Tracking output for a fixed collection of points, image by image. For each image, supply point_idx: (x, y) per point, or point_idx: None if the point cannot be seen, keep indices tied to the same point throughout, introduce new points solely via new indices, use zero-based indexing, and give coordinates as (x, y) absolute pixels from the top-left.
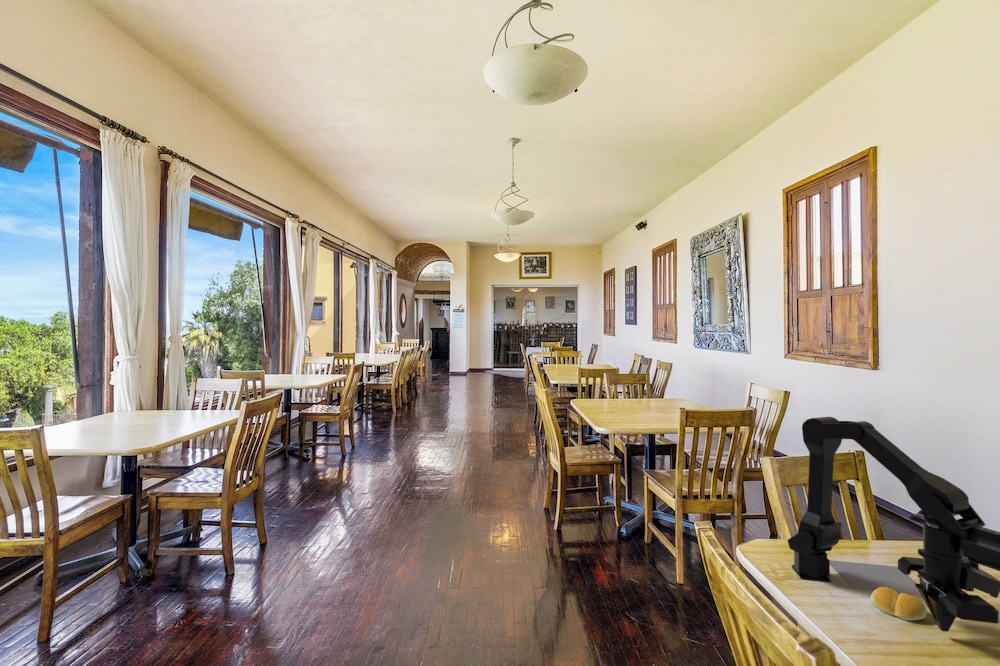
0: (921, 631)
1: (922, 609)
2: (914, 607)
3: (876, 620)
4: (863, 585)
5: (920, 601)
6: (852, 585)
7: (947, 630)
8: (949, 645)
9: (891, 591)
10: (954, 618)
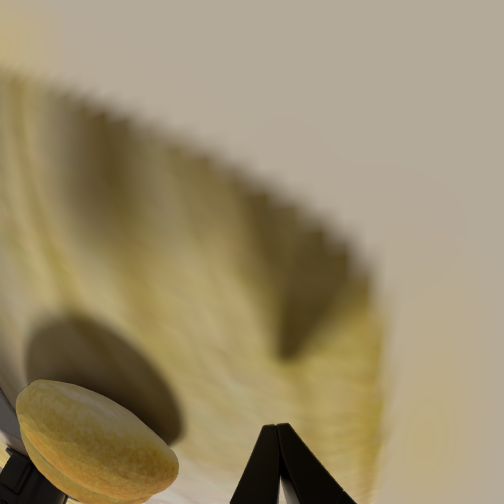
0: (220, 431)
1: (122, 452)
2: (144, 482)
3: (202, 489)
4: (4, 415)
5: (67, 445)
6: None
7: (291, 429)
8: (309, 386)
9: (79, 495)
10: (344, 492)
